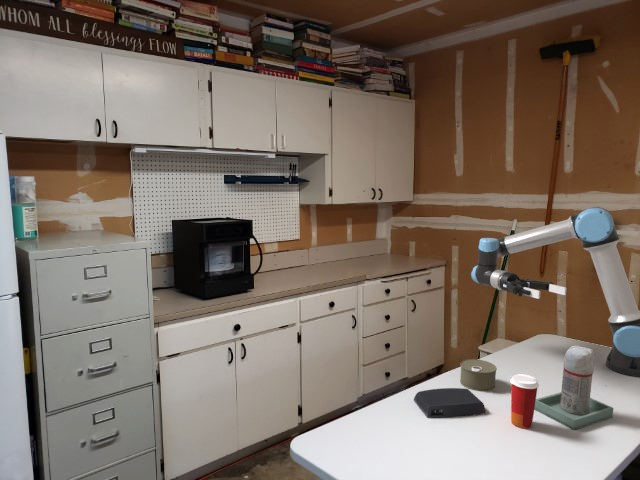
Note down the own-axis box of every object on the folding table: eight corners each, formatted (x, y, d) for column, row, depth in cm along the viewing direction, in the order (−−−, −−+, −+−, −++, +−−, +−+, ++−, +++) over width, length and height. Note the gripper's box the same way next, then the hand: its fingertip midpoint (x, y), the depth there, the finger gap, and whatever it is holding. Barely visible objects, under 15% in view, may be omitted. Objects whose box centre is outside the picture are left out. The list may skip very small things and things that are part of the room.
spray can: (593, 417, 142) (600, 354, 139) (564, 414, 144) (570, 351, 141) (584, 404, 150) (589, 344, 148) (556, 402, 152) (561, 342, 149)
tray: (570, 397, 157) (571, 389, 156) (612, 417, 144) (613, 408, 144) (532, 408, 149) (533, 399, 148) (573, 430, 136) (574, 420, 136)
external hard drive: (412, 400, 154) (412, 388, 154) (467, 396, 157) (468, 385, 157) (427, 420, 141) (428, 407, 141) (487, 416, 145) (488, 403, 144)
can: (498, 382, 168) (500, 363, 167) (491, 395, 158) (492, 375, 157) (464, 374, 175) (465, 356, 174) (455, 386, 164) (456, 367, 164)
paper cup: (534, 419, 142) (537, 375, 140) (536, 432, 135) (540, 386, 133) (506, 415, 144) (509, 371, 143) (507, 427, 137) (510, 381, 135)
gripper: (526, 287, 192) (575, 300, 173) (481, 293, 181) (527, 307, 162) (528, 269, 191) (576, 280, 172) (482, 274, 180) (528, 285, 161)
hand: (552, 293), depth 167 cm, fingers open, 13 cm apart
